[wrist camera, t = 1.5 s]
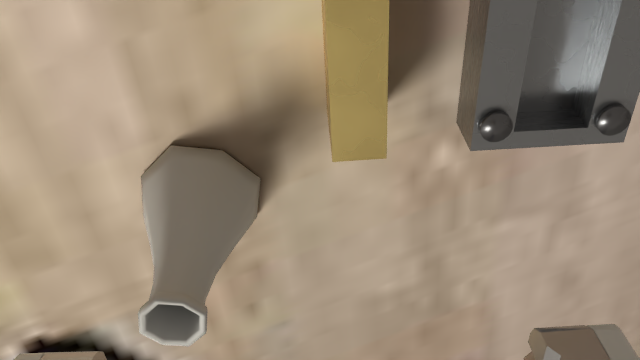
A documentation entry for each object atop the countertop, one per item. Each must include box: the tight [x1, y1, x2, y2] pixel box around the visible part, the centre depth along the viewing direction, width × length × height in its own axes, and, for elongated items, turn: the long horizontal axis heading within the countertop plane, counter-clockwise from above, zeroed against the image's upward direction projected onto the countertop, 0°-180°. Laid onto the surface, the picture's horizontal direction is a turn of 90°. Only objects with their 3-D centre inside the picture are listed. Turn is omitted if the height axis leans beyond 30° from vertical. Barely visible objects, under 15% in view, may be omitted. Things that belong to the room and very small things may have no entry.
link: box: [457, 0, 640, 151], centre depth 28 cm, size 9×8×3 cm
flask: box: [138, 145, 261, 346], centre depth 30 cm, size 7×7×10 cm
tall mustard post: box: [322, 0, 389, 162], centre depth 26 cm, size 12×3×5 cm, turn 3°
